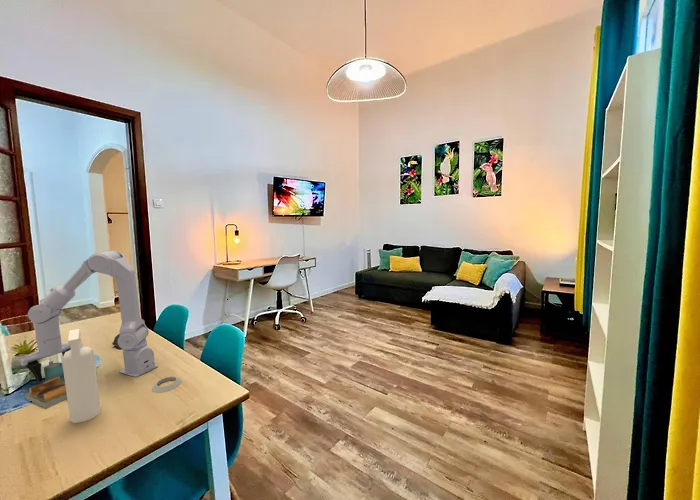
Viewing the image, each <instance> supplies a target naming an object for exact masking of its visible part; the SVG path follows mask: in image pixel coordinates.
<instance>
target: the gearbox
mask: <svg viewBox="0 0 700 500" xmlns="http://www.w3.org/2000/svg"><path fill="white" fill-rule="evenodd" d="M28 389H29V392H28V393H26V394H24V397H25V400H26V399H28V400H30V401H29V402H31V401H32V402H31V403H33V402H34V403H33V404H35V403H36V404H35V405H38V406H39V407H42V408H44V409H48V408H49V407H52V406H54V405H57V404H59V403H61V402H63V401H65V400H67V393H66V386H65V379H64V378H63V379H60V377H56V378H54V379H51V380H49V381H46V380H45V381H44V382H40V383H39V384H36V385H33V386H31V387H29V388H28ZM28 400H27V401H28Z"/></svg>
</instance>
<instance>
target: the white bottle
mask: <svg viewBox="0 0 700 500" xmlns="http://www.w3.org/2000/svg"><path fill="white" fill-rule="evenodd" d="M67 339H68V340H67V344H68V345H69V344H71V350H69V351H67V352H65V354H64V356H63V355H62V359H61V363H62V366H63V373H64V378H63V379H65V386H66V393H67V399H66V400H67V405H68V412H69V413H68V414H69V419H70V423H73V424H79V423H85V422H88V421H89V420H92V419H94V418H96V417H97V416H98V415H100V413H101V411H102V410H101V409H102V407H101V400H100V392H99V385H98V377H97V376H98V375H97V369H96V360H95V353H94V350H93V349H92V348H91V346H84V344H83V341H82V339H81V328H76V329H71V330H69V332H68V338H67Z"/></svg>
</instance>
